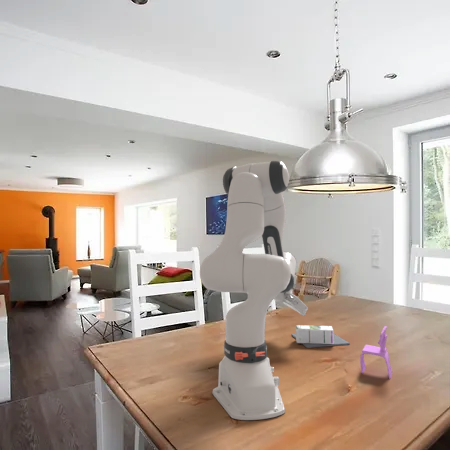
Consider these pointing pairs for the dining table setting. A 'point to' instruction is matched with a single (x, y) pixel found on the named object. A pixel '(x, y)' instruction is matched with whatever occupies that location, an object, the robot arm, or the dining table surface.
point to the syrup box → (314, 334)
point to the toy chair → (377, 352)
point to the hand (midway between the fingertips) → (303, 314)
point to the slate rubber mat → (336, 342)
